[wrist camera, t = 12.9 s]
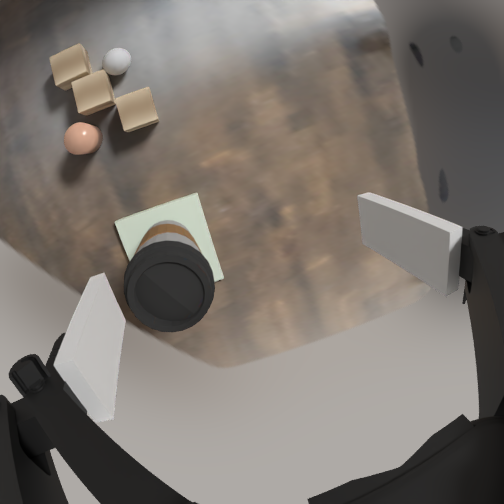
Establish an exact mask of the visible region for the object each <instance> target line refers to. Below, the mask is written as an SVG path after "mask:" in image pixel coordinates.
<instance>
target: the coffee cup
mask: <svg viewBox="0 0 504 504" xmlns="http://www.w3.org/2000/svg"><path fill="white" fill-rule="evenodd" d="M214 290H215V285H214V276H213V271H212V269H211V266H210V264H209V262H208V260H207V259H206V258H205V257H204V256H203V255H202V253H201V250H200V248H199V246H198V245H197V243H196V241H195V239H194V237H193V236H192V235H191V233H190V232H189V230H188V229H187V228H186V227H185V226H184V225H182V224H181V223H179V222H176V221H172V220H164V221H160V222H158V223H156V224H154V225H153V226H151V227H150V228H149V229H148V231H147V232H146V234H145V235H144V237H143V238H142V240H141V242H140V244H139V246H138V248H137V250H136V252H135V254H134V256H133V258H132V259H131V261H130V262H129V264H128V265H127V268H126V272H125V275H124V294H125V298H126V301H127V304H128V306H129V307H130V309H131V311H132V312H133V313H134V315H135V317H137V318H138V319H139V320H140V321H141V322H142V323H143V324H144V325H146V326H148V327H150V328H151V329H155V330H158V331H161V332H177V331H183V330H185V329H187V328H190V327H192V326H193V325H195V324H196V323H197V322H199V321H200V320H201V319H202V318H203V316H204V315H205V314H206V313H207V311H208V309H209V307H210V305H211V303H212V301H213V298H214Z"/></svg>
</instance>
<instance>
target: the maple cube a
mask: <svg viewBox="0 0 504 504" xmlns="http://www.w3.org/2000/svg"><path fill="white" fill-rule="evenodd" d="M50 63H51V67H52V72H53V76H54V80H55V85H56V86H57V87H59V88H61V89H63V90H65V91H66V90H68V89H70V88H72V83H71V82H73V81H75V80H78V79H80V78H82V77H85V76H87V75H90V74H92V69H91V65H90V61H89V57H88V53H87V51H86V50H85V49H84V47H83V46H82V45H81V44H80V43H79V44H76V45H74V46H72V47H70V48H68V49H66V50H64V51H62V52H59V53H57V54H55V55H54V56H52V57H50Z"/></svg>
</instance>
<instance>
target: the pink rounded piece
mask: <svg viewBox="0 0 504 504" xmlns="http://www.w3.org/2000/svg"><path fill="white" fill-rule="evenodd" d="M102 141H103V135H102V132H101V130H100V129H99V128H98V127H96V126H94V125H90V124H86V123H82V122H79V123H75V124H73V125H71V126H70V127H69V128H68V130H67V131H66V133H65V136H64V144H65V147H66V149H67V150H68V151H69V152H70V153H72V154H75V155H80V154H90V153H93V152H95V151H97V150H98V149H99V148H100V146H101V144H102Z"/></svg>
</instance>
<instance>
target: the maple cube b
mask: <svg viewBox="0 0 504 504" xmlns="http://www.w3.org/2000/svg"><path fill="white" fill-rule="evenodd" d="M71 83H72V88H73V92H74V96H75V101H76V105H77V109H78V113H80V114H83V115H86V116H88V115H90V114H93V113H95V112H98V111H100V110H103V109H105V108H108V107H111V106H113V105H116V101H115V97H114V93H113V89H112V85H111V81H110V77H109V75H108V74H107V73H106V72H105V71H104V69H103V70H100V71H97V72H95V73H92V74H90V75H87V76H85V77H82V78H80V79H78V80H75V81H73V82H71Z"/></svg>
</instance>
